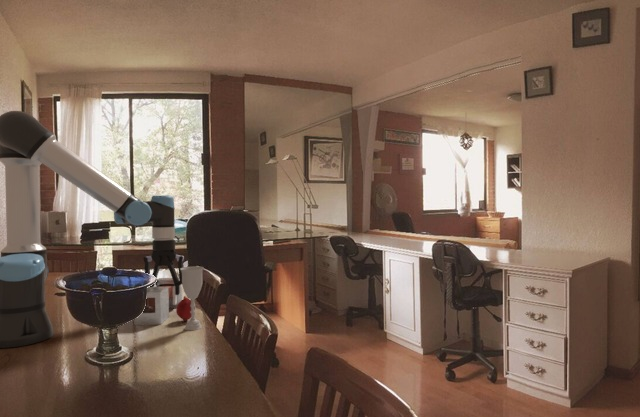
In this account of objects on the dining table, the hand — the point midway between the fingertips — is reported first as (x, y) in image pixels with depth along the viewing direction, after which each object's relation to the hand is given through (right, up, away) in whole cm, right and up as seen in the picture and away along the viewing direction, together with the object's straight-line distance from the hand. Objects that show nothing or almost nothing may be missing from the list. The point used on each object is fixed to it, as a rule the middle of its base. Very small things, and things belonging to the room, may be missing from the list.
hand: (165, 304), depth 154 cm
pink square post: (0, +2, -3) cm, 3 cm away
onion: (+12, -2, -15) cm, 19 cm away
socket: (0, -2, +5) cm, 5 cm away
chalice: (+17, -2, -23) cm, 28 cm away
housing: (+1, -2, -14) cm, 14 cm away
